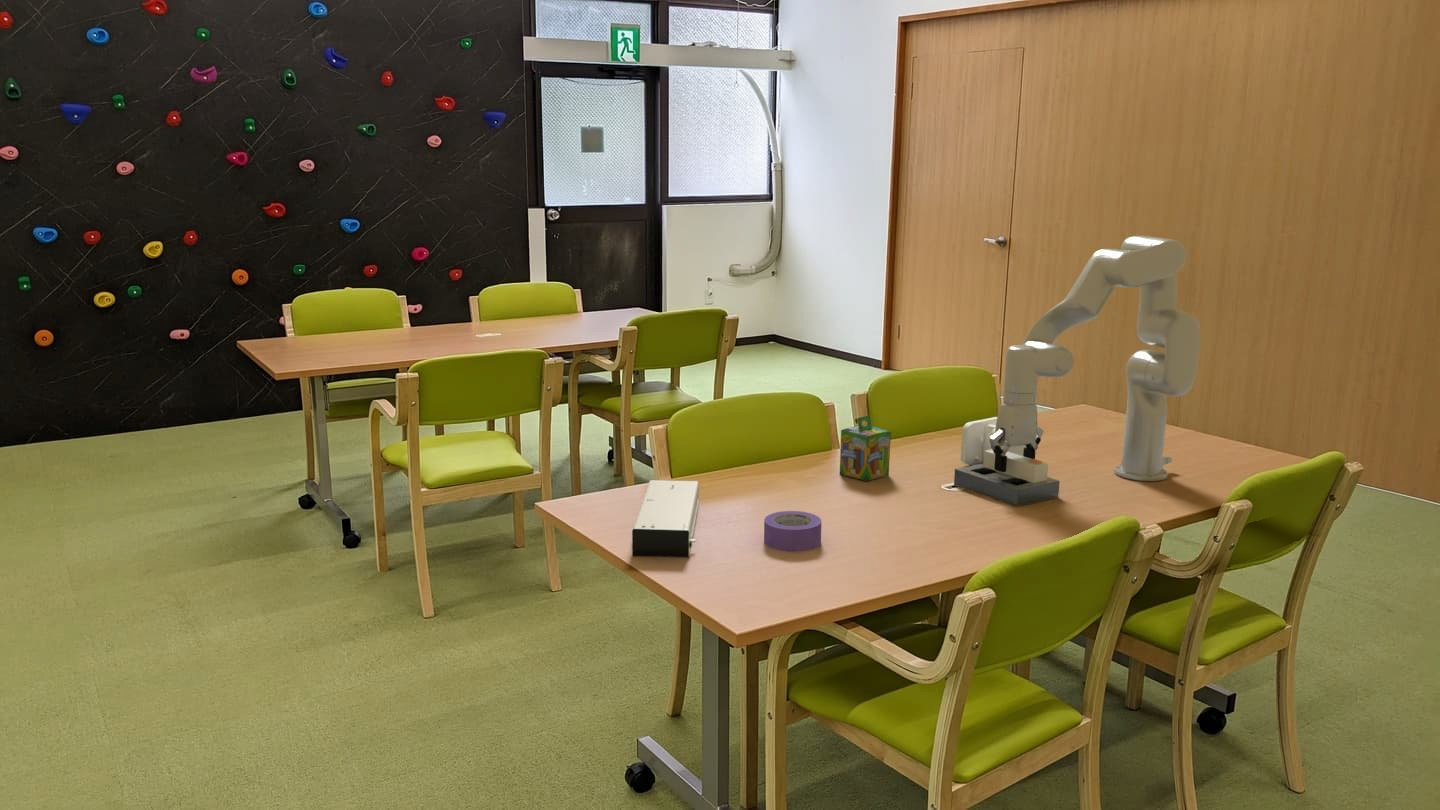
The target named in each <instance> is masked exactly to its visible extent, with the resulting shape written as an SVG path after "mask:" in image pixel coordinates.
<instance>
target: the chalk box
mask: <svg viewBox="0 0 1440 810" xmlns="http://www.w3.org/2000/svg"><path fill="white" fill-rule="evenodd" d="M863 421H864V422H866V424H867V425H865V424H863ZM871 422H872V421H871V416H870V415H869V414H868V415H864V416H859V417H857V424H858V425H856V426H852V427H848V428H843V429H841V430H840V451H839V452H840V457H839V475H841V476H846V477H850V478H854V479H858V480H862V481H865V482H868V481H872V480H875V479H879V478H880V479H881V478H883V477H884V478H885V477H888V476H889V475H890V474H889V472H890V452H891V439H892V438H891V436H892V432H891V431H890V430H887V429H882V428H879V427H876V426H872V423H871Z"/></svg>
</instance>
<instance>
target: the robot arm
mask: <svg viewBox="0 0 1440 810" xmlns="http://www.w3.org/2000/svg"><path fill="white" fill-rule="evenodd" d="M1186 261H1187V251H1186V248H1185V246H1184V245H1183V244H1182V243H1181V242H1179V241H1178V240H1176V239H1173V238H1165V237H1156V236H1150V235H1132V236H1130V237H1127V238H1126V239H1124V241H1123V242H1122V244H1121V247H1120V249H1118V248H1102V249H1099V250H1098V249H1097V250H1096V251H1095V252H1094V253H1093V254H1092V255H1091V256H1090V258H1089V259H1088V261H1087V263H1086V264H1085V266H1084V267H1083V270H1082V271H1081V272H1080V274H1079V275H1078V277H1077V279H1076V280H1075V282H1074V284H1073V286H1071V288H1070V290H1069V292H1068V294H1067V295H1066V296H1065V298H1064V299H1063V300H1062V301H1061V302H1059V303H1058V304H1056V305H1055V306H1053V307H1052V308H1051V309H1049V310H1048V311H1047V312H1045V314H1043V315H1042V316H1041V317H1039V318H1038V320H1037V321H1035V323H1034V324H1033V325H1032V326H1031V328H1030V330H1029V332H1028V333H1027V335H1026V336H1025V338H1024V339H1023V341H1022V344H1016V345H1010V346H1009V347H1008V348H1007V350H1006V355H1005V363H1004V367H1005V368H1004V383H1003V393H1002V403H1000V405H999V408H998V412H997V416H996V417H997V421H996V428H995V434H994V435H993V436H992V437H990V439H989V441H990V444H991V449H992V450H993V453H994V454H995V466H994V469H995V470H997V471H1000V472H1006V467H1007V456H1005V454H1006V453H1007V451H1008V450H1009V448H1010V447H1016V446H1022V445H1025V446H1026V447H1027V448H1024V452H1023V456H1024V457H1027V458H1031V459H1036V452H1037V450H1038V449H1039V444H1040V443H1041V440H1042V437H1043V434H1044V433H1045V432H1044V430H1043V429H1042V428H1041V427H1038V405H1037V395H1038V393H1037V392H1038V377H1046V378H1047V377H1048V378H1061V377H1064V376H1067V375H1068V374H1070V372H1071V371H1072V369H1073V368H1074V365H1075V358H1074V355H1073V353H1072V352H1071V351H1070V350H1069V349H1068V348H1066V347H1065V346H1062V345H1058V344H1055V343H1054V342H1055V341H1056V340H1057V338H1058V337H1060V335H1061V334H1063V333H1064V332H1065V331H1067V330H1069V329H1071V328H1072V327H1073V328H1074V327H1076V326H1080V325H1082V324H1086V323H1088V322H1091V321H1093V320H1095V319H1096V318H1097V317H1098V316H1099V315H1100V314H1101V312H1102V310H1103V308H1104V307H1105V304H1106V303H1107V301H1108V300H1109V298H1110V297H1111V295H1112V293H1114V290H1115V289H1116V287H1120V288H1125V289H1126V288H1127V289H1131V288H1132V289H1134V288H1138V287H1139V301H1138V302H1139V303H1138V311H1137V319H1136V335H1137V338H1138V339H1139V340H1140V341H1141V342H1143V343H1144V344H1146V345H1150V346H1154V347H1157V348H1163V349H1164V352H1163V351H1158V350H1153V349H1141V350H1137V351H1136V352H1135V353H1132V355H1131V356H1130V357H1129V359H1128V360H1127V363H1126V366H1125V379H1126V387H1127V397H1126V398H1127V400H1126V401H1127V402H1126V413H1125V419H1124V420H1125V421H1124V423H1125V424H1124V431H1123V432H1124V434H1123V441H1122V442H1123V443H1122V452H1121V453H1122V454H1121V463H1120V464H1117V465H1115V466H1114V467H1113V468H1114V469H1113V472H1114V474H1116V475H1117V476H1119V477H1121V478H1125V479H1129V480H1135V481H1140V482H1143V481H1144V482H1156V481H1157V482H1159V481H1163V480H1166V479H1168V475H1169V474H1168V471H1167V470H1165V469H1164V466H1165V465H1169V464H1171V463H1172V461H1173V458H1172V457H1171V456H1170V455H1166V456H1164V446H1165V439H1166V438H1165V436H1166V426H1167V418H1168V408H1169V407H1168V400H1167V396H1172V397H1181V396H1185V395H1186V394H1188V393H1189V392H1190V391H1191V389H1192V388H1193V386H1194V385H1195V382H1196V379H1197V373H1198V367H1199V366H1198V365H1199V357H1200V348H1201V342H1202V341H1201V340H1202V330H1201V326H1200V323H1199V321H1198V319H1197V318H1196V317H1195V316H1194V315H1193V314H1192V313H1189V312H1187V311H1184V310H1179V309H1177V305H1178V304H1177V301H1178V300H1177V299H1178V281H1177V277H1176V276H1175V275H1176V274H1178V273H1179V272H1180V271H1181V270H1182V269H1183V268H1184V265H1185V264H1186ZM1166 395H1167V396H1166ZM1002 446H1004V448H1003V450H1002V449H1001V447H1002Z"/></svg>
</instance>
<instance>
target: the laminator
mask: <svg viewBox="0 0 1440 810" xmlns="http://www.w3.org/2000/svg"><path fill="white" fill-rule="evenodd" d="M699 494H700V483H699V481H697V480H663V479H661V480H660V479H650V480H649V482H648V484H647V488H646V490H645V494H644V496H643V498H642V501H641V505H640V507H639V509H638V513H637V517H636V520H635V522H634V525H633V528H632V530H631V536H632V537H631V538H632V539H631V545H632V549H631V552H632V556H633V557H637V556H638V557H640V556H641V557H671V558H673V557H677V558H690V553H691V549H692V544H693V543H696V542H697V539H696V538H694V532H695V526H696V521H697V517H698V512H697V511H699V507H698V506H699V504H700V503H699V501H700V499H699V497H700V495H699Z"/></svg>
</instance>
